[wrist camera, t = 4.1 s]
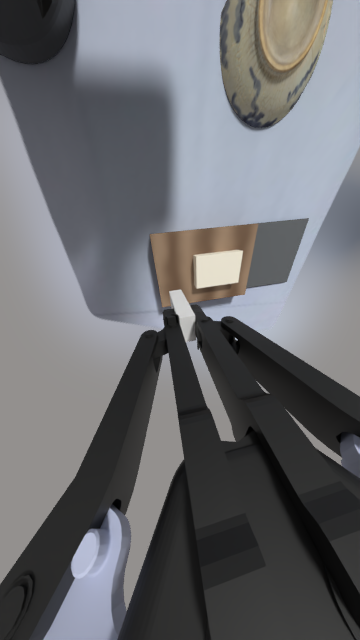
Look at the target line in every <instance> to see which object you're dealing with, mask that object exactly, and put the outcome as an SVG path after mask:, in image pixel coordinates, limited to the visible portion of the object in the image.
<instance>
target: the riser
mask: <svg viewBox="0 0 360 640" xmlns="http://www.w3.org/2000/svg"><path fill="white" fill-rule="evenodd" d="M257 228H258V224H247V225H237V226H227V227H217V228H207V229H197V230H187V231H177V232H167V233H157V234H150V239H151V245H152V251H153V256H154V262H155V268H156V274H157V279H158V285H159V291H160V297H161V302H162V307H168V306H171V302H170V294H169V291H174V290H180V289H181V290H182V292H183V294H184V296H185V298H186V299H187V301H188V303H193V302H200V301H206V300H212V299H219V298H225V297H231V296H238V295H244V294H245V291H246V286H247V280H248V275H249V270H250V265H251V260H252V254H253V249H254V244H255V239H256V233H257ZM231 250H241V251H243V255H242V261H241V268H240V274H239V280H238V283H232V284H225V285H218V286H211V287H205V288H198V289H197V288H196V287H195V286H194V262H193V255H198V254H206V253H215V252H223V251H231Z"/></svg>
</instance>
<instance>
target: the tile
mask: <svg viewBox="0 0 360 640" xmlns="http://www.w3.org/2000/svg"><path fill="white" fill-rule="evenodd" d="M242 255H243V251H241V250H231V251H223V252H215V253H206V254H198V255H193V262H194V286H195V287H196V288H197V289H198V288H205V287H211V286H218V285H225V284H232V283H238V280H239V274H240V268H241V261H242Z"/></svg>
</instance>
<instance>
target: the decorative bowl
mask: <svg viewBox="0 0 360 640" xmlns="http://www.w3.org/2000/svg"><path fill="white" fill-rule="evenodd" d="M332 3H333V0H227V1H226V3H225V6H224V8H223V10H222V13H221V23H220V62H221V71H222V77H223V82H224V86H225V90H226V93H227V96H228V99H229V101H230V103H231V105H232V107H233V109H234V110H235V112H236V113H237V115H238V116H239V117H240V118H241V119H242V120H243V121H244V122H245V123H247V124H249V125H250V126H253V127H259V128H262V127H268V126H271V125H273V124H275V123H277V122H278V121H280V120H281V119H282V118H283V117H285V116H286V115H287V114H288V113H289V112H290V110H291V109H292V108H293V107H294V105H295V104H296V103H297V101H298V100H299V98H300V96H301V94H302V93H303V91H304V89H305V87H306V85H307V83H308V82H309V80H310V78H311V76H312V74H313V72H314V69H315V66H316V64H317V61H318V58H319V56H320V53H321V50H322V47H323V43H324V40H325V36H326V33H327V29H328V24H329V20H330V15H331V9H332Z"/></svg>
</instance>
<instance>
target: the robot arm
mask: <svg viewBox="0 0 360 640" xmlns="http://www.w3.org/2000/svg"><path fill="white" fill-rule="evenodd" d="M74 3H75V0H0V54H1V55H3V56H5V57H7V58H10V59H12V60H15V61H18V62H22V63H29V64H35V63H41V62H44V61H47V60H49V59H51V58H52V57H53V56H55V55H56V54H57V53H58V52H59V50H60V49H61V48H62V46H63V45H64V43H65V41H66V39H67V36H68V34H69V31H70V27H71V24H72V19H73V12H74ZM169 294H170V302H171V309H167V310H164V311H163V320H164V326H165V327H164V329H163V330H161V331H159V332H156V331H154V330H148V331H145V332H144V333H143V334H142V335H141V337H140V339H139V341H138V343H137V346H136V348H135V350H134V352H133V354H132V356H131V359H130V361H129V363H128V365H127V367H126V369H125V371H124V373H123V376H122V378H121V380H120V382H119V384H118V386H117V389H116V391H115V393H114V395H113V397H112V399H111V402H110V404H109V406H108V408H107V410H106V412H105V415H104V417H103V419H102V421H101V423H100V426H99V427H98V430H97V432H96V434H95V436H94V438H93V440H92V443H91V445H90V447H89V449H88V451H87V453H86V456H85V457H84V460H83V462H82V464H81V466H80V468H79V470H78V473H77V475H76V477H75V479H74V480H73V481H72V483H71V484H70V485H69V487H68V488H67V490H66V491H65V493H64V494H63V496H62V497H61V498H60V500H59V501H58V503H57V504H56V506H55V507H54V508H53V510H52V512H51V513H50V514H49V516H48V517H47V518H46V520H45V521H44V523H43V524H42V526H41V527H40V529H39V530H38V531H37V533H36V534H35V536H34V537H33V539H32V540H31V541H30V543H29V544H28V546H27V547H26V549H25V550H24V551H23V553H22V554H21V556H20V557H19V558H18V560H17V561H16V563H15V564H14V566H13V567H12V569H11V570H10V571H9V573H8V574H7V576H6V577H5V579H4V580H3V581H2V583H1V584H0V640H360V397H359V396H358V395H356V394H355V393H353V392H352V391H350V390H348V389H347V388H345V387H344V386H342V385H340V384H339V383H337V382H335V381H334V380H332V379H331V378H329V377H328V376H326V375H325V374H323V373H321V372H320V371H318V370H317V369H315V368H314V367H312V366H310V365H309V364H307V363H305V362H304V361H302V360H301V359H299V358H298V357H296V356H294V355H293V354H291V353H290V352H288V351H287V350H285V349H283V348H282V347H280V346H279V345H277V344H275V343H273V342H272V341H271V340H269V339H268V338H266V337H264V336H263V335H261V334H260V333H258V332H257V331H255V330H253V329H252V328H250V327H249V326H247V325H245V324H244V323H242V322H241V321H239V320H238V319H236V318H234V317H230V316H227V317H223V318H222V319H221V321H213V320H212V319H211V318H210V317H207V316H206V315H205V314H204V312H203V311H202V309H201V308H200V306H198V305H189V303H188V301H187V299H186V298H185V296H184V294H183V292H182V290H181V289H180V290H174V291H169ZM196 337H197V347H198V349H199V348H200V351H201V353H202V355H203V358H204V360H205V362H206V365H207V367H208V370H209V372H210V374H211V377H212V379H213V381H214V384H215V386H216V389H217V391H218V393H219V395H220V398H221V400H222V402H223V405H224V407H225V410H226V412H227V415H228V417H229V419H230V422H231V425H232V430H233V435H234V438H235V440H236V442H228V441H221V440H220V437H219V434H218V431H217V428H216V425H215V422H214V419H213V417H212V414H211V412H210V410H209V409H208V407H207V406H206V403H205V400H204V397H203V394H202V391H201V388H200V384H199V381H198V378H197V375H196V372H195V369H194V366H193V363H192V360H191V357H190V354H189V351H188V348H187V345H186V342H188V341H194V340H196ZM235 338H237V339H238V341H237V340H235ZM167 353H169V358H170V364H171V372H172V378H173V385H174V391H175V398H176V404H177V411H178V419H179V426H180V433H181V440H182V447H183V453H184V460H183V461H182V463H181V464H180V466H179V467H178V469H177V470H176V473H175V475H174V477H173V479H172V482H171V484H170V487H169V490H168V493H167V496H166V499H165V502H164V505H163V508H162V511H161V514H160V517H159V520H158V523H157V525H156V529H155V531H154V534H153V537H152V540H151V543H150V546H149V549H148V551H147V554H146V558H145V560H144V563H143V566H142V569H141V572H140V575H139V578H138V581H137V584H136V586H135V590H134V592H133V595H132V598H131V601H130V604H129V607H128V610H127V611H126V607H125V603H124V591H123V584H124V573H125V568H126V563H127V558H128V555H129V550H130V543H131V530H130V525H129V521H128V519H127V518H126V516H125V514H126V511H127V508H128V505H129V502H130V499H131V496H132V493H133V490H134V486H135V482H136V477H137V474H138V469H139V465H140V460H141V455H142V450H143V446H144V441H145V437H146V431H147V427H148V423H149V418H150V413H151V409H152V404H153V399H154V395H155V390H156V385H157V380H158V376H159V371H160V367H161V362H162V356H163V355H165V354H167ZM256 381H257V382H258V383H259V384H261V385H262V386H263V387H264V388H265V389H266V390H267V391H268V392H269V393H270V394H267V393H265V392H264V391H263V390H262V389H261V387H260V386H259V384H258V383H257V382H256ZM286 410H287V411H288V412H289V413H291V414H292V415H293V416H294V417H295V418H296V419H297V420H298V421H299V422H300V423H301V424H302V425H303V426H304V427H305V428H306V429H307V430H308V431H309V432H311V433H312V434H313V435H314V436H315V437H316V438H317V439H318V440H320V441H321V442H322V443H323V444H325V445H326V446H327V447H328V448H330V449H331V450H332V451H334V452H335V453H337V454H338V455H339V456H341V457H342V458H343V459H342V460H341V463H342V466H343V467H342V466H341V465H339V464H338V463H337V462H335V461H334V460H332V459H331V458H329V457H328V456H326V455H325V454H323V453H322V452H320V451H319V450H317V449H316V448H315V447H314V446H313V445H312V443H311V442H310V441H309V439H308V438H307V437H306V435H305V434H304V433H303V431H302V430H301V429H300V428H299V426H298V425H297V424H296V423H295V421H294V420H293V418H292V417H291V416H290V415H289V413H288V412H287V411H286Z"/></svg>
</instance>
